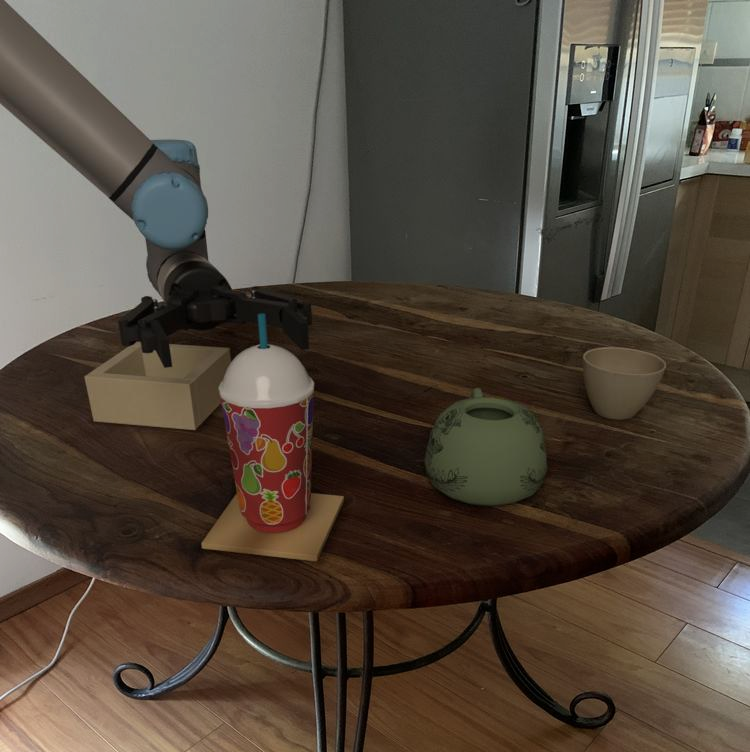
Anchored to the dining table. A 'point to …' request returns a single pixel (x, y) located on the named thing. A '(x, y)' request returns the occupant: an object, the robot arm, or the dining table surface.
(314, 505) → the cork mat
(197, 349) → the square beige tray
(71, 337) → the dining table surface
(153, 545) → the dining table surface
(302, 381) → the smoothie
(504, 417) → the green rounded ceramic pot
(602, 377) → the flower pot
